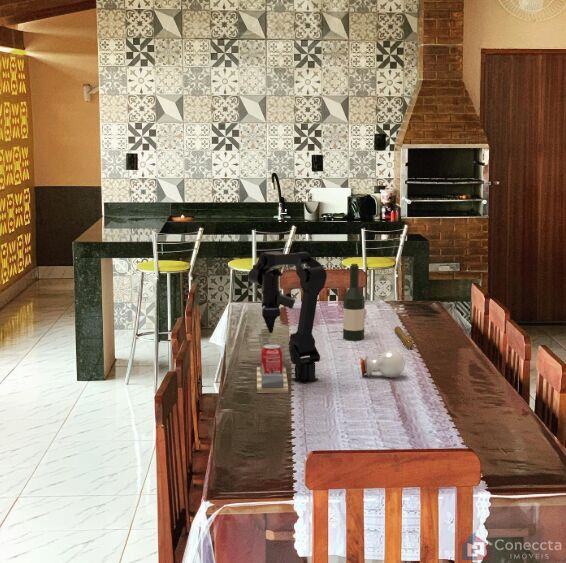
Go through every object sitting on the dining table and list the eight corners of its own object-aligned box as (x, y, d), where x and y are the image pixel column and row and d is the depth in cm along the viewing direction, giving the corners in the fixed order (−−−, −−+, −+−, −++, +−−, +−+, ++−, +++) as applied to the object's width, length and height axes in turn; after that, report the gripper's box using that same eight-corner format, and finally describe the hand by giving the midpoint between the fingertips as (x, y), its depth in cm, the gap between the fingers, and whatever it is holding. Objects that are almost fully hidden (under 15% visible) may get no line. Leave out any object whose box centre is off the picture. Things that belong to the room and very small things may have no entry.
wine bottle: (364, 341, 390) (365, 265, 385) (343, 341, 390) (344, 265, 385) (363, 336, 398) (364, 262, 393) (342, 336, 398) (343, 262, 393)
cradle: (288, 393, 318) (288, 376, 317) (257, 393, 318) (256, 377, 317) (285, 370, 346) (285, 355, 345) (256, 370, 346) (256, 355, 345)
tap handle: (401, 325, 405) (414, 342, 376) (401, 333, 406) (414, 350, 376) (394, 325, 405) (406, 342, 375) (393, 333, 405) (406, 350, 376)
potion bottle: (407, 382, 336) (363, 386, 338) (405, 360, 343) (362, 364, 345) (405, 364, 330) (360, 369, 332) (403, 342, 337) (359, 346, 338)
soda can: (270, 377, 332) (270, 342, 330) (287, 380, 327) (287, 345, 325) (256, 382, 326) (256, 346, 324) (273, 385, 322) (273, 349, 320)
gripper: (294, 292, 337) (294, 337, 340) (292, 282, 355) (292, 325, 358) (262, 292, 337) (262, 337, 339) (261, 282, 355) (261, 325, 358)
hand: (270, 331), depth 349 cm, fingers open, 5 cm apart
